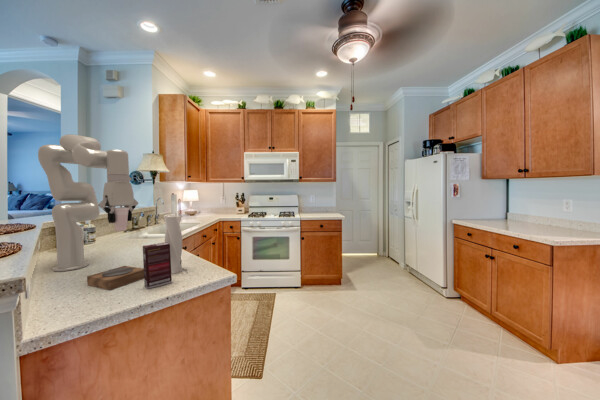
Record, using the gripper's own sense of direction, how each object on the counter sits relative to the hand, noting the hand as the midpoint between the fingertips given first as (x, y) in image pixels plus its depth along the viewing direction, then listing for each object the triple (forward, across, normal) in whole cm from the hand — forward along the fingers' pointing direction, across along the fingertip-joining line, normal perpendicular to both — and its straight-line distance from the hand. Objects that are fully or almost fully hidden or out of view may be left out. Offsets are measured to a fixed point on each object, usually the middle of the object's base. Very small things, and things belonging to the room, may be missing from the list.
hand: (120, 221), depth 102 cm
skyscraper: (+25, -12, +16) cm, 32 cm away
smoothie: (+4, 0, 0) cm, 4 cm away
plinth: (+24, +4, +4) cm, 25 cm away
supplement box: (+24, +2, +23) cm, 33 cm away
